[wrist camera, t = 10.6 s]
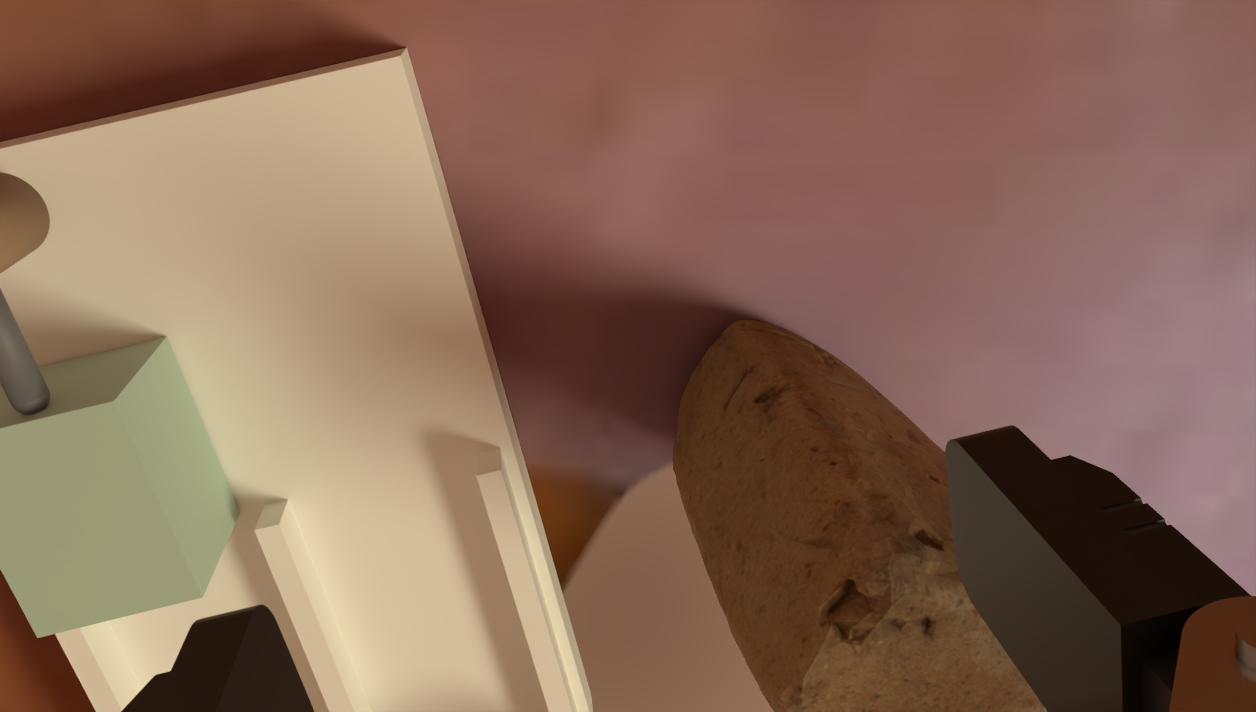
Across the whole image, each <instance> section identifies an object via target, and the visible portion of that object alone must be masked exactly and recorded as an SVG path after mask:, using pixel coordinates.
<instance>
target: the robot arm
mask: <svg viewBox="0 0 1256 712" xmlns="http://www.w3.org/2000/svg"><path fill="white" fill-rule="evenodd" d="M945 460H946V471H947V481H948V491H949V501H950V511H951V521H952V532H953V542H954V551H955V557H956V562H957V566H958V570H959V574H960V577H961V580H962V583H963V585H964V588H965V590H966V592H967V594H968V597H969V599H970V600H971V602H972V604H973V605H974V607H975V608H976V610H977V611H978V613H979V614H980V616H981V617H982V619H983V620H984V621H985V623H986V624H987V626H988V627H989V629H990V630H991V631H992V633H993V634H994V636H995V637H996V639H997V640H998V641H999V643H1000V644H1001V646H1002V647H1003V649H1004V650H1005V651H1006V653H1007V654H1008V656H1009V657H1010V659H1011V660H1012V661H1013V663H1014V664H1015V666H1016V667H1017V669H1018V670H1019V671H1020V673H1021V674H1022V676H1023V677H1024V679H1025V680H1026V681H1027V683H1028V684H1029V686H1030V687H1031V689H1032V690H1033V692H1034V693H1035V694H1036V696H1037V697H1038V699H1039V700H1040V702H1041V703H1042V704H1043V706H1044V707H1045V709H1046V710H1047V712H1256V596H1251V595H1250V594H1248V593H1247V592H1246V591H1245V590H1244V589H1243V588H1242V587H1241V586H1239V585H1238V584H1237V583H1236V582H1235V581H1234V580H1233V579H1232V578H1230V577H1229V576H1228V575H1227V574H1226V573H1225V572H1224V571H1223V570H1221V569H1220V568H1219V567H1218V566H1217V565H1216V564H1215V563H1214V562H1212V561H1211V560H1210V559H1209V558H1208V557H1207V556H1206V555H1204V554H1203V553H1202V552H1201V551H1200V550H1199V549H1198V548H1197V547H1195V546H1194V545H1193V544H1192V543H1191V542H1190V541H1189V540H1188V539H1186V538H1185V537H1184V536H1183V535H1182V534H1181V533H1180V532H1179V531H1177V530H1176V529H1175V528H1174V527H1173V526H1172V525H1166V523H1165V519H1164V518H1163V517H1162V516H1161V515H1159V514H1158V513H1157V512H1156V511H1155V510H1154V509H1153V508H1152V507H1150V506H1149V505H1148V504H1147V503H1146V504H1143V503H1142V501H1141V498H1140V497H1139V496H1138V495H1137V494H1136V493H1135V492H1133V491H1132V490H1131V489H1130V488H1129V487H1128V486H1127V485H1126V484H1124V483H1123V482H1122V481H1121V480H1120V479H1119V478H1118V477H1117V476H1115V475H1114V474H1113V473H1111V472H1109V471H1107V470H1104V469H1102V468H1099V467H1097V466H1095V465H1092V464H1090V463H1087V462H1085V461H1083V460H1080V459H1078V458H1075V457H1073V456H1071V455H1070V456H1066V457H1062V458H1057V459H1053V460H1051V459H1049V458H1048V457H1047V456H1046V455H1045V454H1044V453H1043V452H1042V451H1041V450H1040V449H1039V448H1038V447H1037V446H1036V445H1035V444H1034V443H1033V442H1032V441H1031V440H1030V439H1029V438H1028V437H1027V436H1026V435H1025V434H1024V433H1022V432H1021V431H1020V430H1019V429H1018V428H1017V427H1015V426H1006V427H1002V428H998V429H994V430H990V431H985V432H981V433H977V434H973V435H969V436H965V437H961V438H956V439H952V440H950V441H948V443H947V445H946V451H945ZM121 712H314V710H313V707H312V704H311V702H310V699H309V697H308V695H307V692H306V690H305V688H304V685H303V683H302V680H301V678H300V676H299V673H298V671H297V669H296V666H295V664H294V661H293V659H292V657H291V654H290V652H289V649H288V647H287V645H286V642H285V640H284V638H283V635H282V633H281V630H280V628H279V626H278V623H277V621H276V619H275V617H274V615H273V614H272V612H271V611H270V609H269V608H268V607H266V606H265V605H256V606H252V607H248V608H244V609H239V610H235V611H231V612H227V613H223V614H219V615H215V616H210V617H206V618H202V619H198V620H196V621H195V622H194V623H193V624H192V626H191V627H190V629H189V632H188V634H187V636H186V638H185V640H184V643H183V645H182V647H181V649H180V652H179V654H178V656H177V658H176V660H175V663H174V665H173V667H172V669H171V671H169V672H165V673H161V674H157V675H155V676H154V677H153V678H152V679H151V680H150V681H149V682H148V683H147V684H146V685H145V686H144V688H143V689H142V690H141V691H140V692H139V693H138V694H137V695H136V696H135V697H134V698H133V699H132V700H131V701H130V703H129V704H128V705H127V706H126V707H125V708H124V709H123V710H122V711H121Z"/></svg>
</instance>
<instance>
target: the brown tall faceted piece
mask: <svg viewBox="0 0 1256 712" xmlns="http://www.w3.org/2000/svg"><path fill="white" fill-rule="evenodd" d="M673 470H674V472H675V474H676V479H677V484H678V487H679V491H680V495H681V499H682V502H683V505H684V508H685V511H686V514H687V516H688V519H689V522H690V525H691V528H692V532H693V535H694V537H695V539H696V542H697V544H698V547H699V549H700V553H701V555H702V559H703V561H704V564H705V567H706V570H707V572H708V575H709V577H710V580H711V582H712V584H713V587H714V590H715V592H716V595H717V598H718V600H719V603H720V605H721V607H722V609H723V611H724V613H725V615H726V617H727V620H728V623H729V626H730V630H731V632H732V634H733V636H734V639H735V641H736V643H737V645H738V646H739V648H740V650H741V652H742V654H743V656H744V658H745V660H746V663H747V665H748V667H749V669H750V670H751V672H752V674H753V676H754V678H755V679H756V681H757V683H758V685H759V687H760V690H761V691H762V693H763V695H764V696H765V698H766V700H767V701H768V703H769V705H770V706H771V707H772V709H773V710H774V712H1047V710H1046V709H1045V707H1044V706H1043V704H1042V703H1041V702H1040V700H1039V699H1038V697H1037V696H1036V694H1035V693H1034V692H1033V690H1032V689H1031V687H1030V686H1029V684H1028V683H1027V681H1026V680H1025V679H1024V677H1023V676H1022V674H1021V673H1020V671H1019V670H1018V669H1017V667H1016V666H1015V664H1014V663H1013V661H1012V660H1011V659H1010V657H1009V656H1008V654H1007V653H1006V651H1005V650H1004V649H1003V647H1002V646H1001V644H1000V643H999V641H998V640H997V639H996V637H995V636H994V634H993V633H992V631H991V630H990V629H989V627H988V626H987V624H986V623H985V621H984V620H983V619H982V617H981V616H980V614H979V613H978V611H977V610H976V608H975V607H974V605H973V604H972V602H971V600H970V599H969V597H968V594H967V592H966V590H965V588H964V585H963V583H962V580H961V577H960V574H959V570H958V566H957V562H956V557H955V551H954V542H953V532H952V521H951V511H950V501H949V491H948V481H947V471H946V460H945V452H944V451H943V450H942V449H941V448H939V447H938V446H937V445H936V444H935V443H934V442H933V441H932V440H930V439H929V438H928V437H927V436H926V435H925V434H924V433H923V432H922V431H921V430H920V429H919V428H918V427H917V426H916V425H915V424H914V423H913V422H912V421H911V420H910V419H909V418H908V417H906V416H905V415H904V414H903V413H902V412H901V411H900V410H899V409H898V408H897V407H896V406H894V405H893V404H892V403H891V402H890V401H889V400H888V399H887V398H885V397H884V396H883V395H882V394H881V393H879V392H878V391H877V390H876V389H875V388H874V387H873V386H872V385H871V384H870V383H868V382H867V381H866V380H865V379H864V378H863V377H861V376H860V375H859V374H858V373H856V372H855V371H854V370H852V369H851V368H850V367H848V366H847V365H846V364H844V363H843V362H841V361H840V360H839V359H837V358H836V357H834V356H833V355H831V354H830V353H828V352H827V351H825V350H823V349H822V348H820V347H818V346H816V345H815V344H813V343H811V342H809V341H808V340H806V339H804V338H802V337H800V336H798V335H796V334H794V333H792V332H790V331H788V330H786V329H783V328H780V327H777V326H774V325H772V324H769V323H767V322H762V321H757V320H738V321H736V322H734V323H732V324H730V325H729V326H728V327H727V328H726V329H725V330H724V331H723V332H722V333H721V335H720V336H719V338H718V339H717V340H716V341H715V342H714V343H713V344H712V345H711V346H710V347H709V349H708V350H707V351H706V353H705V354H704V356H703V358H702V359H701V361H700V362H699V364H698V365H697V367H696V368H695V370H694V371H693V373H692V375H691V377H690V379H689V381H688V383H687V385H686V388H685V390H684V393H683V395H682V398H681V401H680V406H679V411H678V421H677V436H676V441H675V445H674V450H673Z"/></svg>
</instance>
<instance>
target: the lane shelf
mask: <svg viewBox="0 0 1256 712" xmlns="http://www.w3.org/2000/svg"><path fill="white" fill-rule="evenodd" d="M0 172H2V173H7V174H11V175H14V176H16V177H18V178H20V179H22V180H24V181H26V182H27V183H28V184H30V185H31V186H32V187H33V188H34V189H35V190H36V191H37V192H38V193H39V194H40V196H41V197H42V198H43V200H44V202H45V204H46V206H47V209H48V212H49V218H50V227H49V232H48V234H47V237H46V239H45V240H44V242H43V243H42V244H41V245H40V246H39V247H38V248H37V249H36V250H34V251H33V252H31V253H30V254H28V255H27V256H25V257H24V258H23V259H21V260H20V261H18V262H17V263H15V264H14V265H12V266H11V267H9V268H8V269H6V270H5V271H3V272H2V273H0V288H1V291H2V293H3V295H4V297H5V299H6V301H7V303H8V305H9V307H10V309H11V312H12V314H13V316H14V318H15V320H16V322H17V324H18V326H19V328H20V330H21V333H22V335H23V337H24V339H25V341H26V343H27V345H28V347H29V349H30V351H31V353H32V356H33V358H34V360H35V362H36V364H37V366H38V367H41V366H45V365H50V364H54V363H58V362H62V361H66V360H71V359H75V358H79V357H83V356H87V355H92V354H96V353H100V352H104V351H108V350H112V349H117V348H121V347H125V346H129V345H133V344H138V343H142V342H146V341H150V340H154V339H159V338H163V337H167V338H168V340H169V343H170V345H171V348H172V350H173V352H174V355H175V357H176V359H177V362H178V364H179V367H180V369H181V371H182V374H183V376H184V379H185V381H186V383H187V386H188V388H189V391H190V393H191V395H192V398H193V400H194V403H195V405H196V407H197V410H198V412H199V415H200V417H201V419H202V422H203V424H204V427H205V429H206V431H207V434H208V436H209V439H210V441H211V443H212V446H213V448H214V450H215V453H216V455H217V458H218V460H219V462H220V465H221V467H222V470H223V472H224V474H225V477H226V479H227V482H228V484H229V486H230V489H231V491H232V494H233V496H234V498H235V501H236V503H237V506H238V508H239V510H240V514H239V516H238V519H237V521H236V523H235V525H234V528H233V530H232V532H231V535H230V537H229V539H228V541H227V544H226V546H225V548H224V550H223V553H222V555H221V557H220V559H219V562H218V564H217V566H216V568H215V571H214V573H213V575H212V577H211V580H210V582H209V584H208V586H207V589H206V591H205V593H204V596H203V598H199V599H194V600H190V601H186V602H182V603H178V604H174V605H170V606H166V607H162V608H158V609H154V610H150V611H146V612H142V613H138V614H134V615H130V616H125V617H121V618H117V619H113V620H109V621H105V622H101V623H97V624H93V625H89V626H85V627H81V628H77V629H73V630H69V631H65V632H61V633H56V634H55V635H56V637H57V639H58V641H59V643H60V645H61V647H62V648H63V650H64V652H65V654H66V656H67V658H68V660H69V662H70V664H71V665H72V667H73V669H74V671H75V673H76V675H77V677H78V679H79V681H80V682H81V684H82V686H83V688H84V690H85V692H86V694H87V696H88V698H89V700H90V701H91V703H92V705H93V707H94V709H95V711H96V712H121V711H122V710H123V709H124V708H125V707H126V706H127V705H128V704H129V703H130V701H131V700H132V699H133V698H134V697H135V696H136V695H137V694H138V693H139V692H140V691H141V690H142V689H143V688H144V686H145V685H146V684H147V683H148V682H149V681H150V680H151V679H152V678H153V677H154V676H155V675H157V674H161V673H165V672H169V671H171V669H172V667H173V665H174V663H175V660H176V658H177V656H178V654H179V652H180V649H181V647H182V645H183V643H184V640H185V638H186V636H187V634H188V632H189V629H190V627H191V626H192V624H193V623H194V622H195V621H196V620H198V619H202V618H206V617H210V616H215V615H219V614H223V613H227V612H231V611H235V610H239V609H244V608H248V607H252V606H256V605H265V606H266V607H268V608H269V609H270V611H271V612H272V614H273V615H274V617H275V619H276V621H277V623H278V626H279V628H280V630H281V633H282V635H283V638H284V640H285V642H286V645H287V647H288V649H289V652H290V654H291V657H292V659H293V661H294V664H295V666H296V669H297V671H298V673H299V676H300V678H301V680H302V683H303V685H304V688H305V690H306V692H307V695H308V697H309V699H310V702H311V704H312V707H313V710H314V712H593V708H592V701H591V700H592V699H591V692H590V689H589V685H588V682H587V678H586V675H585V671H584V668H583V664H582V661H581V657H580V654H579V650H578V647H577V643H576V640H575V636H574V633H573V629H572V626H571V622H570V619H569V615H568V612H567V608H566V605H565V601H564V598H563V594H562V591H561V587H560V584H559V580H558V577H557V573H556V570H555V566H554V563H553V559H552V556H551V552H550V549H549V545H548V541H547V538H546V534H545V531H544V527H543V524H542V520H541V517H540V513H539V510H538V506H537V503H536V499H535V496H534V492H533V489H532V485H531V482H530V478H529V475H528V471H527V468H526V464H525V461H524V457H523V454H522V450H521V447H520V443H519V440H518V436H517V433H516V429H515V426H514V422H513V419H512V415H511V412H510V408H509V405H508V401H507V398H506V394H505V391H504V387H503V383H502V380H501V376H500V373H499V369H498V366H497V362H496V359H495V355H494V352H493V348H492V345H491V341H490V338H489V334H488V331H487V327H486V324H485V320H484V317H483V313H482V310H481V306H480V303H479V299H478V296H477V292H476V289H475V285H474V282H473V278H472V275H471V271H470V268H469V264H468V261H467V257H466V254H465V250H464V247H463V243H462V240H461V236H460V232H459V229H458V225H457V222H456V218H455V215H454V211H453V208H452V204H451V201H450V197H449V194H448V190H447V187H446V183H445V180H444V176H443V173H442V169H441V166H440V162H439V159H438V155H437V152H436V148H435V145H434V141H433V138H432V134H431V131H430V127H429V124H428V120H427V117H426V113H425V110H424V106H423V103H422V99H421V96H420V92H419V89H418V85H417V82H416V78H415V74H414V71H413V67H412V64H411V60H410V57H409V53H408V50H407V48H403V49H399V50H395V51H391V52H386V53H382V54H378V55H373V56H369V57H365V58H360V59H356V60H352V61H347V62H343V63H339V64H334V65H330V66H326V67H322V68H317V69H313V70H309V71H304V72H300V73H296V74H291V75H287V76H283V77H278V78H274V79H270V80H266V81H261V82H257V83H253V84H248V85H244V86H240V87H235V88H231V89H227V90H222V91H218V92H214V93H210V94H205V95H201V96H197V97H192V98H188V99H184V100H179V101H175V102H171V103H166V104H162V105H158V106H153V107H149V108H145V109H141V110H136V111H132V112H128V113H123V114H119V115H115V116H110V117H106V118H102V119H97V120H93V121H89V122H85V123H80V124H76V125H72V126H67V127H63V128H59V129H54V130H50V131H46V132H41V133H37V134H33V135H29V136H24V137H20V138H16V139H11V140H7V141H3V142H0Z"/></svg>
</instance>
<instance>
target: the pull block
mask: <svg viewBox="0 0 1256 712" xmlns="http://www.w3.org/2000/svg"><path fill="white" fill-rule="evenodd" d="M49 227H50V218H49V212H48V209H47V206H46V204H45V202H44V200H43V198H42V197H41V196H40V194H39V193H38V192H37V191H36V190H35V189H34V188H33V187H32V186H31V185H30V184H28V183H27V182H26V181H24V180H22V179H20V178H18V177H16V176H14V175H11V174H7V173H2V172H0V273H2V272H3V271H5V270H6V269H8V268H9V267H11V266H12V265H14V264H15V263H17V262H18V261H20V260H21V259H23V258H24V257H25V256H27V255H28V254H30V253H31V252H33V251H34V250H36V249H37V248H38V247H39V246H40V245H41V244H42V243H43V242H44V240H45V239H46V237H47V234H48V232H49ZM239 514H240V510H239V508H238V506H237V503H236V501H235V498H234V496H233V494H232V491H231V489H230V486H229V484H228V482H227V479H226V477H225V474H224V472H223V470H222V467H221V465H220V462H219V460H218V458H217V455H216V453H215V450H214V448H213V446H212V443H211V441H210V439H209V436H208V434H207V431H206V429H205V427H204V424H203V422H202V419H201V417H200V415H199V412H198V410H197V407H196V405H195V403H194V400H193V398H192V395H191V393H190V391H189V388H188V386H187V383H186V381H185V379H184V376H183V374H182V371H181V369H180V367H179V364H178V362H177V359H176V357H175V355H174V352H173V350H172V348H171V345H170V343H169V340H168V338H167V337H163V338H159V339H154V340H150V341H146V342H142V343H138V344H133V345H129V346H125V347H121V348H117V349H112V350H108V351H104V352H100V353H96V354H92V355H87V356H83V357H79V358H75V359H71V360H66V361H62V362H58V363H54V364H50V365H45V366H41V367H38V366H37V364H36V362H35V360H34V358H33V356H32V353H31V351H30V349H29V347H28V345H27V343H26V341H25V339H24V337H23V335H22V333H21V330H20V328H19V326H18V324H17V322H16V320H15V318H14V316H13V314H12V312H11V309H10V307H9V305H8V303H7V301H6V299H5V297H4V295H3V293H2V291H1V288H0V569H1V571H2V573H3V575H4V577H5V579H6V581H7V583H8V584H9V586H10V588H11V590H12V592H13V594H14V596H15V597H16V599H17V601H18V603H19V605H20V607H21V609H22V610H23V612H24V614H25V616H26V618H27V620H28V622H29V623H30V625H31V627H32V629H33V631H34V633H35V635H36V636H37V638H40V637H44V636H48V635H52V634H56V633H61V632H65V631H69V630H73V629H77V628H81V627H85V626H89V625H93V624H97V623H101V622H105V621H109V620H113V619H117V618H121V617H125V616H130V615H134V614H138V613H142V612H146V611H150V610H154V609H158V608H162V607H166V606H170V605H174V604H178V603H182V602H186V601H190V600H194V599H199V598H203V596H204V593H205V591H206V589H207V586H208V584H209V582H210V580H211V577H212V575H213V573H214V571H215V568H216V566H217V564H218V562H219V559H220V557H221V555H222V553H223V550H224V548H225V546H226V544H227V541H228V539H229V537H230V535H231V532H232V530H233V528H234V525H235V523H236V521H237V519H238V516H239Z"/></svg>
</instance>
